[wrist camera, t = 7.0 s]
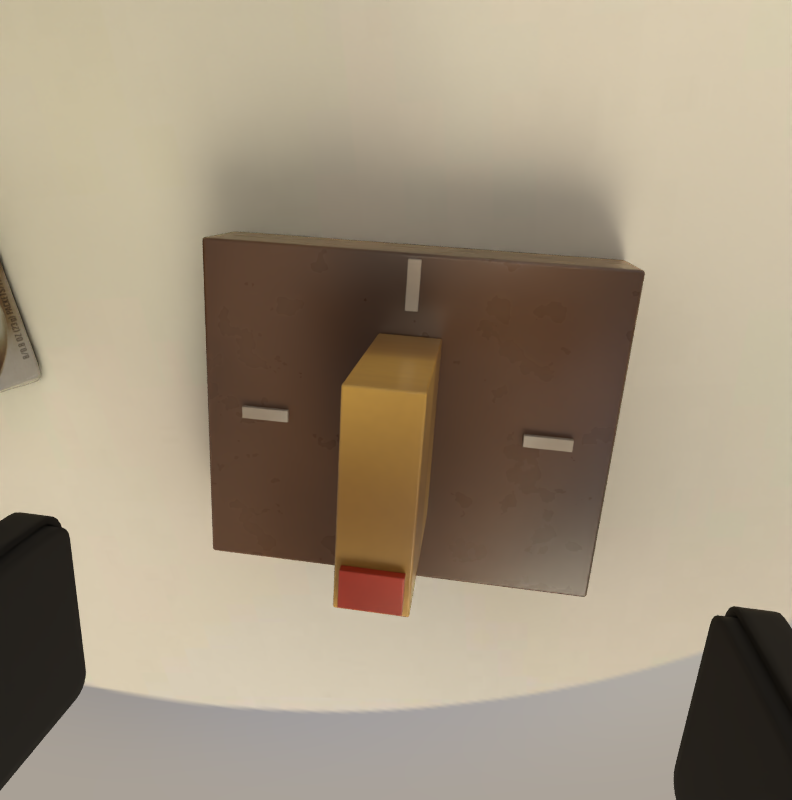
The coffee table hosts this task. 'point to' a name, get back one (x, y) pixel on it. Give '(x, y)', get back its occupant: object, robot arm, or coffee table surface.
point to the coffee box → (14, 343)
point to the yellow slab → (385, 472)
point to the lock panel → (456, 400)
